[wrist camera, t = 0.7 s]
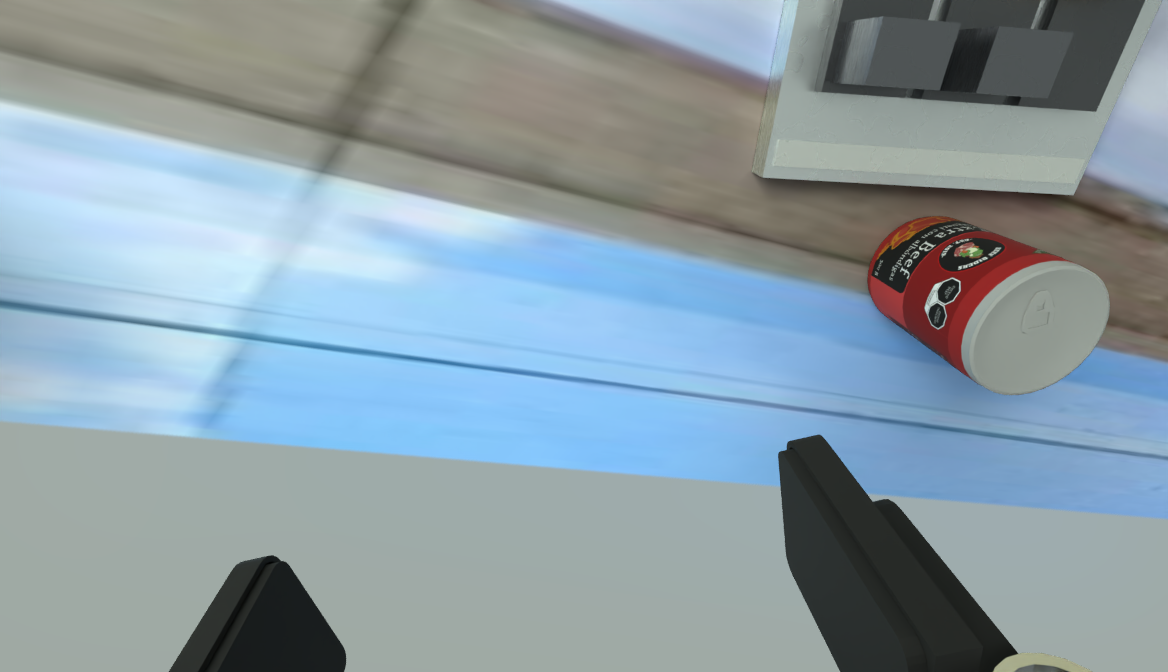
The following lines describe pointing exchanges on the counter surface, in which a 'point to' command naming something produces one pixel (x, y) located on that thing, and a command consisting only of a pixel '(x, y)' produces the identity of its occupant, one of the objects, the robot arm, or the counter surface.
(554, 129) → the counter surface
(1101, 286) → the canned food
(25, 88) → the counter surface
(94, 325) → the counter surface
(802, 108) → the panel
